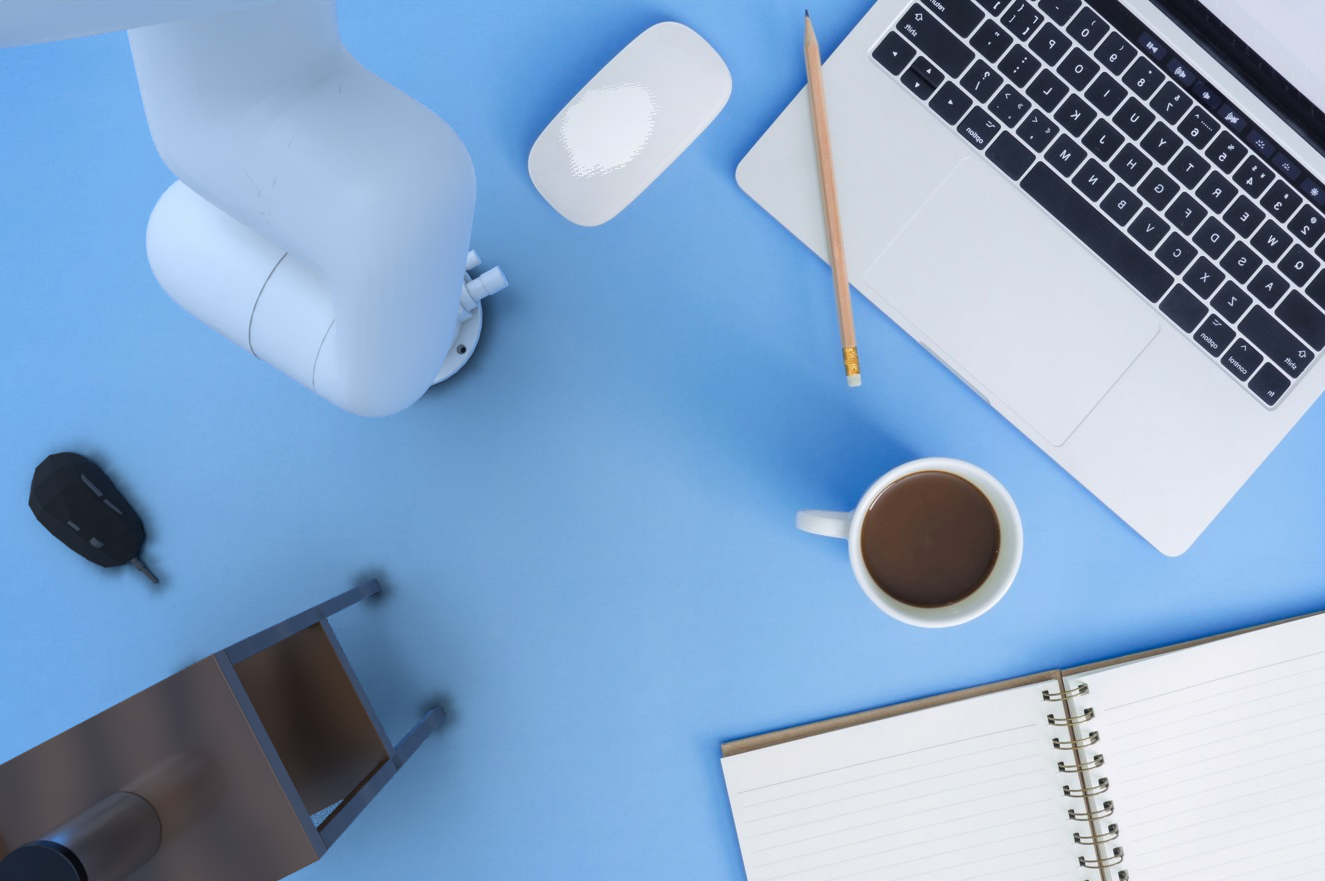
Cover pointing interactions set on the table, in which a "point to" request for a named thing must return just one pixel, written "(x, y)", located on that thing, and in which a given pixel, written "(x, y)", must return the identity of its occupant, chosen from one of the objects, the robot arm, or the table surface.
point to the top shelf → (173, 780)
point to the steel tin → (90, 844)
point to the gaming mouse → (85, 511)
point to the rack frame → (322, 713)
